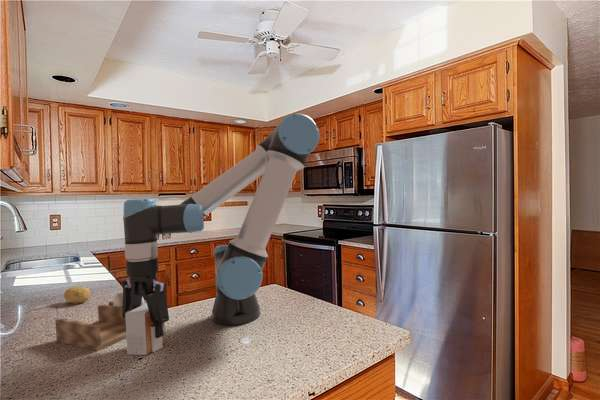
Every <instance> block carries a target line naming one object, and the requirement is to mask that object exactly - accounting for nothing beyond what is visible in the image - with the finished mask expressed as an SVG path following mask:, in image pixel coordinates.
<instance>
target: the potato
mask: <svg viewBox="0 0 600 400" xmlns="http://www.w3.org/2000/svg"><path fill="white" fill-rule="evenodd" d="M63 297H64V299H65V301H66V302H68V303H71V304H80V303H81V304H82V303H85V302H86V301H88V300H89V299H90V297H91V290H90V289H89V288H87V287H85V286H73V287H69V288H67V289H66V290H65V291H64V293H63Z"/></svg>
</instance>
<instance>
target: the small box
mask: <svg viewBox="0 0 600 400" xmlns="http://www.w3.org/2000/svg"><path fill="white" fill-rule="evenodd" d="M125 318H126V354H127V355H132V356H134V355H137V356H147V355H148V354H150V353H152V347H151V328H150V325H152V324H153V323H152V319H151V316H150V313H149V309H148V306H147V303H145V304H143V305H141V306H139V307H137V308H135V309H133V310H131V311H129V312H127V313H125ZM157 320H158V319H157ZM165 342H166V329H165V322H164V323H163V336H162V345H163V344H165Z"/></svg>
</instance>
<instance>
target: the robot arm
mask: <svg viewBox="0 0 600 400" xmlns="http://www.w3.org/2000/svg"><path fill="white" fill-rule="evenodd" d="M319 141H320V130H319V127H318V125H317V124H316V122H315V121H314V120H313V119H312V117H310V116H308V115H306V114H303V113H298V112H297V113H292V114H289V115H287V116H285V117H284V118H283V119H282V120H281V121H280V123H279V124H278V125H277V126H276V127H275V128H274V129H273V130H272V131H271V133H269V134H268V136H267V137H266V138H265V139H264V140H263V141H261V142H260V143H258V144H257V145H256V146H255V147H256V148H255V150H254V151H253V152H251V153H250V154H248V155H247V156H245V157H244V158H243V159H241V160H240V161H238V162H237V163H236V164H234V165H233V166H232V167H230V168H229V169H227V170H226V171H225V172H223V173H221V174H220V175H219V176H217V177H216V178H214V179H213V180H212V181H210V182H209V183H207V184H206V185H204V186H203V187H202V188H201V189H199V190H198V191H196V192H195V193H194V194H192V195H191V196H190V197H188V198H186V199H185V200H184V201H182V202H181V203H179V204H171V205H170V204H169V205H157V203H156V200H155V199H154V198H133V199H132V198H130V199H126V200H125V201H124V202H123V217H122V218H123V228H124V229H123V232H124V255H125V256H124V257H125V260H126V262H125V272H126V273H125V274H126V276H127V277H129V279H126V280H125V279H124V280H122V281H121V286H122V292H123V305H122V317H123V318H125V313H127V311H128V312H129V311H131V310H133V309H135V308H137V307H139V306H141V301H142V297H143V299H144V301H146V303H147V306H148V309H149V313H150V316H151V319H152V323H153V324H152V325H150V328H151V347H152V351H151V353H155V352H157V351H158V350H161V349H162V348H163V347H164V346H163V344H162V336H163V323H164V324H165V323H167V322H169V320H170V317H169V316H170V315H169V308H168V301H167V293H166V289H167V283H166V281H162V282H160V281H158V279H157V278H158V277H157V276H156V275H157V273H158V272H159V270H160V269H159V259H158V257H157V256H158V255H159V254H158V253H159V252H158V235H166V234H168V235H169V234H170V235H171V234H181V233H182V234H184V233H185V234H186V233H189V234H192V233H196V232H202V231H204V229H205V227H204V226H205V225H204V224H205V223H204V218H205V217H206V216H208V215H209V214H210V213H212V212H213V211H215V210H216V209H217V208H219V207H220V206H222V205H223V204H224V203H226V202H227V201H229V200H230V199H231V198H232V197H234V196H235V195H236V194H238V193H239V192H240V191H242V190H244V189H245V188H247V186H249V185H250V184H252V183H253V182H255V181H256V180H257V179H258V178H260V177H261V178H260V180H259V181H260V182H259V184H258V186H257V188H256V191H255V193H254V196H253V199H252V201H251V203H250V205H249V207H248V210H247V211H246V215H245V217H244V220H243V222H242V225H241V227H240V229H239V231H238V233H237V237H236V238H233V239H231V240H229V242H228V244H223V245H217V246H215V248H214V253H213V256H214V270H215V271H214V274H215V290H216V292H215V293H216V295H215V299H214V303H213V307H212V310H211V321H212V322H213V323H214V324H217V325H222V326H235V325H236V326H237V325H242V324H247V323H249V322H252V321H255V320H257V319H258V318H259V317H260V315H261V306H260V304H259V302H258V298H257V296H256V293H257V292H258V290H259V289H260V288H261V285H262V282H263V278H264V277H263V269H264V268H265V265H266V262H267V260H268V258H269V255H268V253H267V252H268V251H267V250H266V248H267V245H268V243H269V241H270V239H271V236H272V233H273V231H274V228H275V226H276V223H277V222H278V221H277V220H278V219H279V217H280V214H281V211H282V208H283V206H284V204H285V201H286V199H287V196H288V193H289V191H290V189H291V186H292V185H293V181H294V179H295V176H296V174H297V172H298V171H302V170H303V169H305V165H306V163H307V161H308V158H309V156H310V154H311V153H312V152H313V151H314V150H316V147H317V146H318V145H319ZM157 319H158V320H157Z"/></svg>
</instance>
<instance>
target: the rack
mask: <svg viewBox="0 0 600 400" xmlns="http://www.w3.org/2000/svg"><path fill="white" fill-rule="evenodd" d="M145 303H146V300H144V299H143V297H142V301H141V305H143V304H145ZM122 305H123V291H122V292H119V293H117V294H116V295H115V296H114V298H113V300H109V301H108V304H102V303H101V304H98V305H97V313H98V314H97V315H98V321H97V320H96V321H95V322H92V323H88V322H87V323H86V322H83V321H79V320H72V319H68V318H62V317H57V318H55V335H56V336H55V337H56V342H60V343H64V344H67V345H71V346H75V347H79V348H83V349H86V350H90V351H91V350H92V351H94V352H99V351H101V350H103V349H105V348H107V347H110V346H112V345H114V344H117V343H118V342H121V341H123V340H125V339H126V340H127V338H126V318H123V317H122ZM127 312H128V311H127Z"/></svg>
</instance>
